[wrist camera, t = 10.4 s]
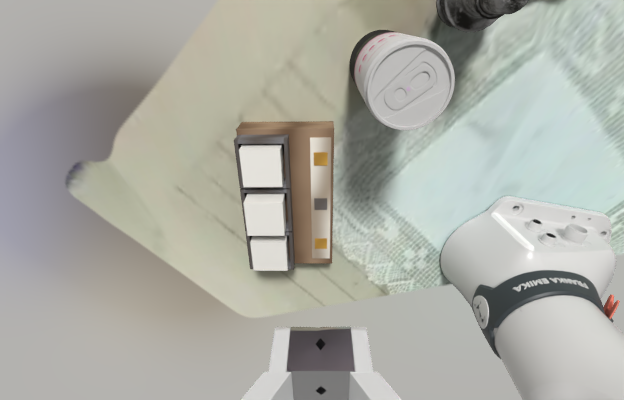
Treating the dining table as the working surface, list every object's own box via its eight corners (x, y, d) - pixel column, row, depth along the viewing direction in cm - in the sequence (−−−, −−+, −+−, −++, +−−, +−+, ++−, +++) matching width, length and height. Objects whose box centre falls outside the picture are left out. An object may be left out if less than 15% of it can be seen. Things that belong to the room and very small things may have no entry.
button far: (287, 231, 44) (285, 242, 42) (289, 258, 46) (287, 270, 44) (253, 231, 44) (250, 242, 42) (256, 258, 47) (253, 270, 44)
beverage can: (420, 68, 38) (473, 97, 25) (370, 104, 40) (394, 148, 27) (389, 15, 36) (429, 15, 23) (337, 56, 38) (347, 78, 25)
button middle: (284, 193, 41) (282, 203, 39) (286, 224, 43) (284, 235, 41) (247, 193, 41) (243, 203, 39) (251, 224, 43) (247, 235, 41)
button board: (333, 121, 41) (334, 134, 37) (331, 250, 50) (332, 272, 46) (241, 122, 41) (232, 135, 37) (256, 250, 50) (250, 272, 46)
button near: (282, 142, 39) (280, 149, 36) (284, 177, 41) (282, 186, 39) (243, 142, 39) (239, 150, 37) (247, 177, 41) (243, 187, 39)
